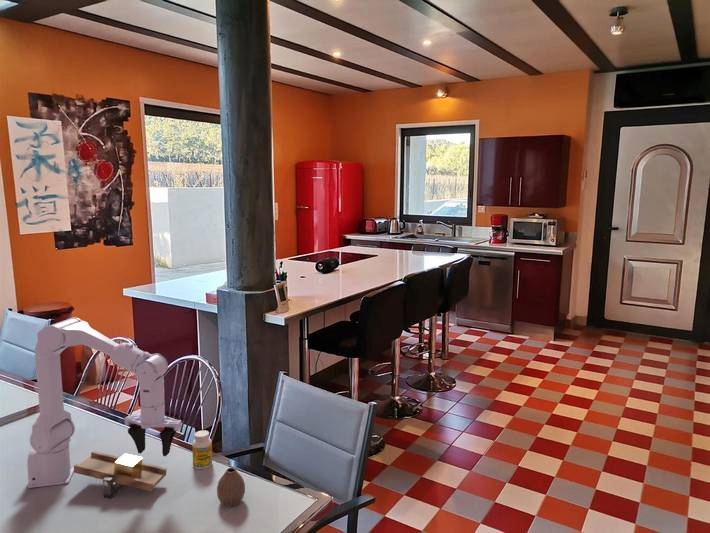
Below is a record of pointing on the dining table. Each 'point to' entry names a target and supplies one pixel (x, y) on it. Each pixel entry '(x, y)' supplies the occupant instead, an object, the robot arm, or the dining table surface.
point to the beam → (104, 467)
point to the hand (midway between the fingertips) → (153, 452)
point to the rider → (128, 465)
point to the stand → (110, 487)
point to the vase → (231, 488)
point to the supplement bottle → (202, 450)
